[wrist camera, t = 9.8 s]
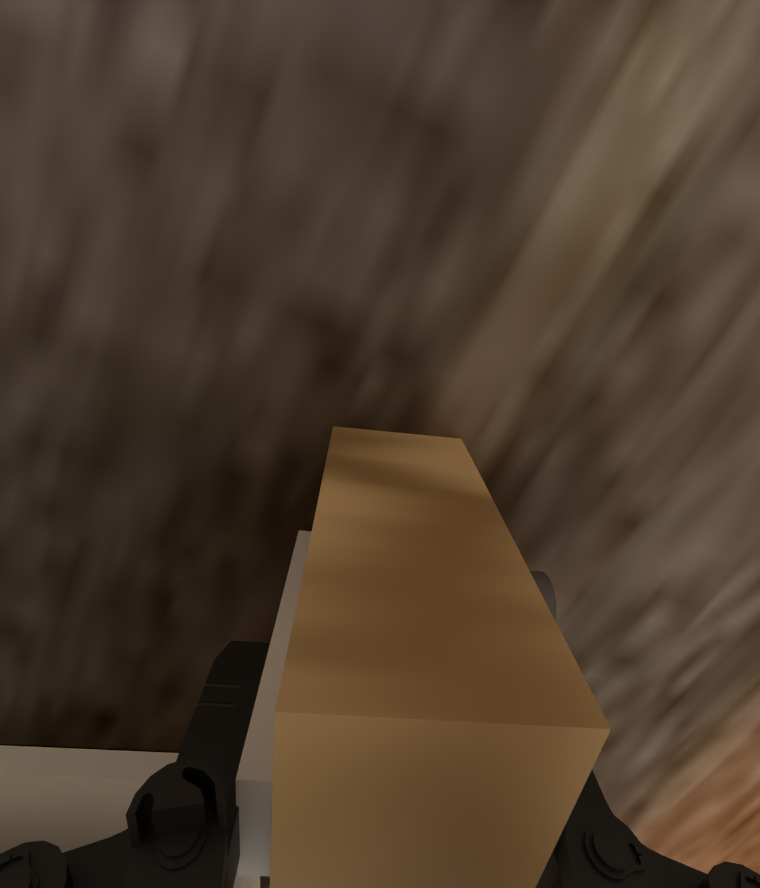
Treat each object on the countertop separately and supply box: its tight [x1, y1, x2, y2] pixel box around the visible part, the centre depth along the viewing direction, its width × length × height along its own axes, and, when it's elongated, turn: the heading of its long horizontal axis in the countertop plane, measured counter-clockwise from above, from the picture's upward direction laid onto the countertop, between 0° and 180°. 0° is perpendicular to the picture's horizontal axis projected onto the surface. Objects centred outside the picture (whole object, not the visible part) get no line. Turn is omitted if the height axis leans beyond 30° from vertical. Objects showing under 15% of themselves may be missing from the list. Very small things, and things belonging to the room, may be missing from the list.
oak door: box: [270, 426, 611, 888], centre depth 11 cm, size 4×12×8 cm, turn 174°
